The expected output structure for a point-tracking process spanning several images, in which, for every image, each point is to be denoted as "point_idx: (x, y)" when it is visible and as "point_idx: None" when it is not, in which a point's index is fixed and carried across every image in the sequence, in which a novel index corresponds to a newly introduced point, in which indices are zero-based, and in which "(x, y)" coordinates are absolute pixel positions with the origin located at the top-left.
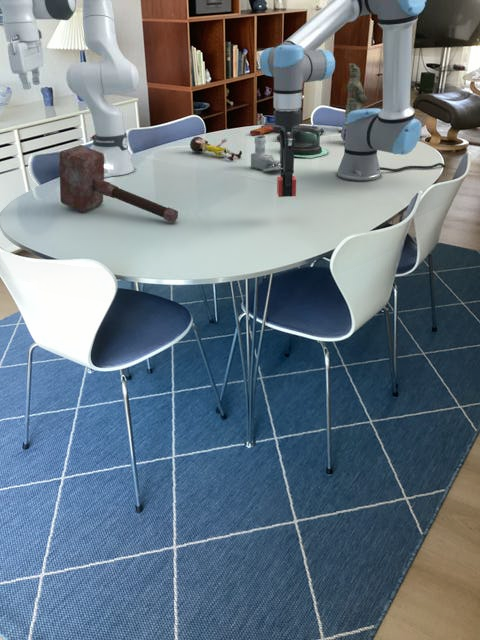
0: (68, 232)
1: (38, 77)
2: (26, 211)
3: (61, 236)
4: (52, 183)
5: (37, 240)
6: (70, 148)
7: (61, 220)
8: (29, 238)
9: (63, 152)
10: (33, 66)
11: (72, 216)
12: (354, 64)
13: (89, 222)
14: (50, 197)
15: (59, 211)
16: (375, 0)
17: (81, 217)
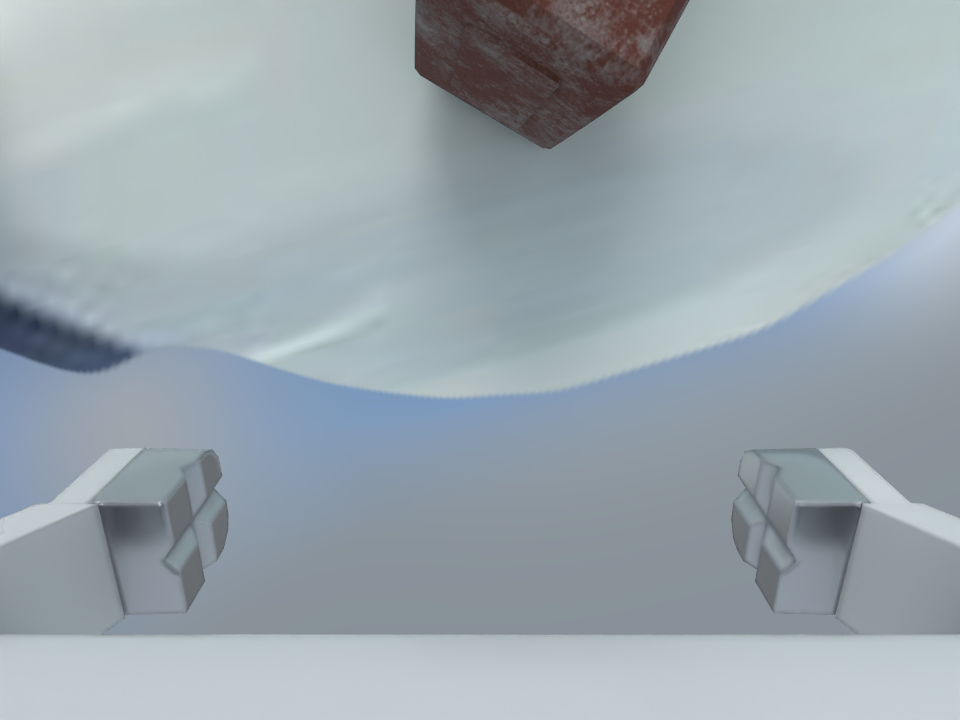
0: (871, 33)
1: (86, 512)
2: (544, 312)
3: (914, 56)
4: (119, 307)
5: (930, 157)
6: (559, 9)
7: (696, 111)
8: (895, 200)
9: (652, 51)
10: (630, 698)
11: None
12: None
13: None
14: (348, 256)
15: (564, 155)
16: None
17: None
